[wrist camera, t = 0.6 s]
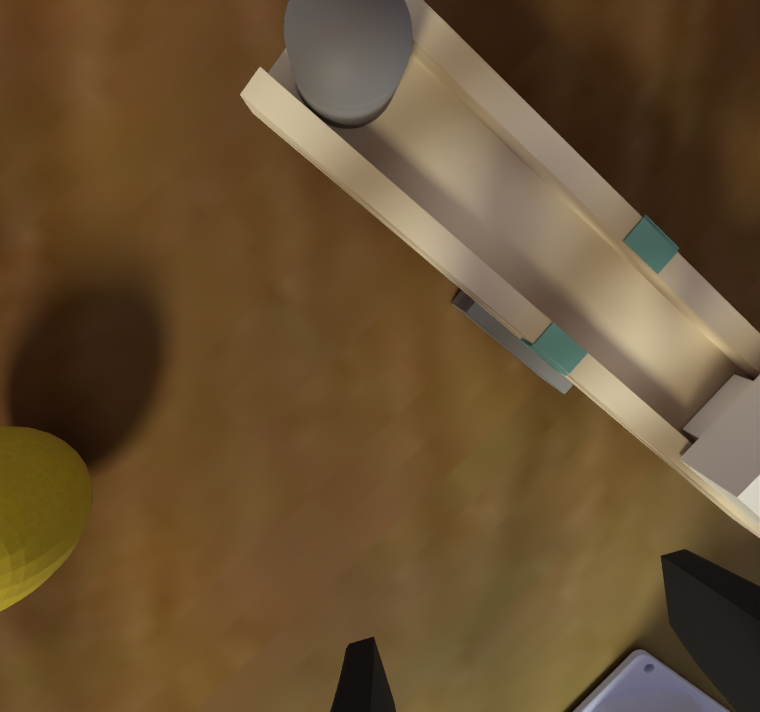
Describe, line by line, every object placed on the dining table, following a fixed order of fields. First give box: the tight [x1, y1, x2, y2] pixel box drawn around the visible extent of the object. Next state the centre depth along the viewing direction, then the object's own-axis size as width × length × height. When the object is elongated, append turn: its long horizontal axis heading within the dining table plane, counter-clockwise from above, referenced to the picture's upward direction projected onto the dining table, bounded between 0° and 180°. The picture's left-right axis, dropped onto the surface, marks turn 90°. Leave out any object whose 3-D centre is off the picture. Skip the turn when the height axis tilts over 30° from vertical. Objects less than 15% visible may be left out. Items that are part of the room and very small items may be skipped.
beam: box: [240, 0, 760, 538], centre depth 17 cm, size 24×6×7 cm, turn 51°
